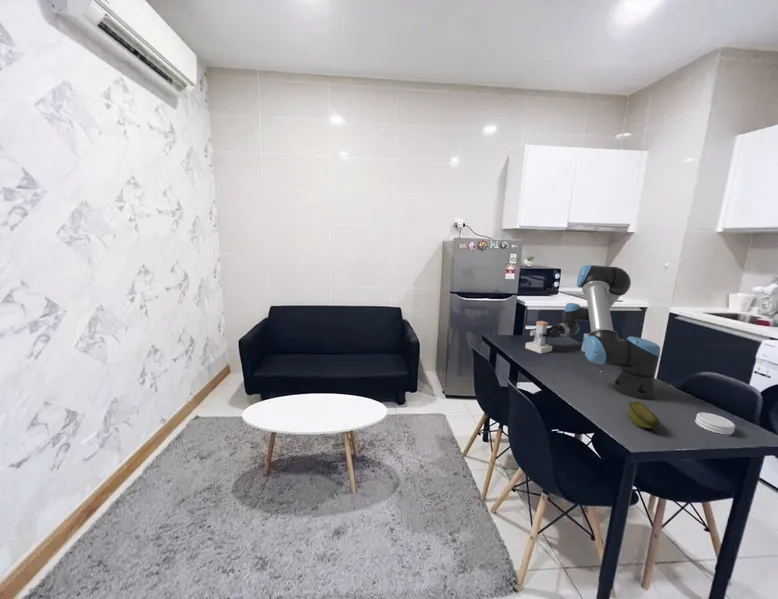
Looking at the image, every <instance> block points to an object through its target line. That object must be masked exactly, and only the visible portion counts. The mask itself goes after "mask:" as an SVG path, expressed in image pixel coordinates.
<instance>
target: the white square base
mask: <svg viewBox="0 0 778 599" xmlns="http://www.w3.org/2000/svg"><path fill="white" fill-rule="evenodd" d="M525 349H527V350H529V351H532V352H535V353H538V354H545V353H549V352H552V351H553V345H550V344H548V343H545V344H544V346H537V345H535V344H534V341H529V342H525Z"/></svg>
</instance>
